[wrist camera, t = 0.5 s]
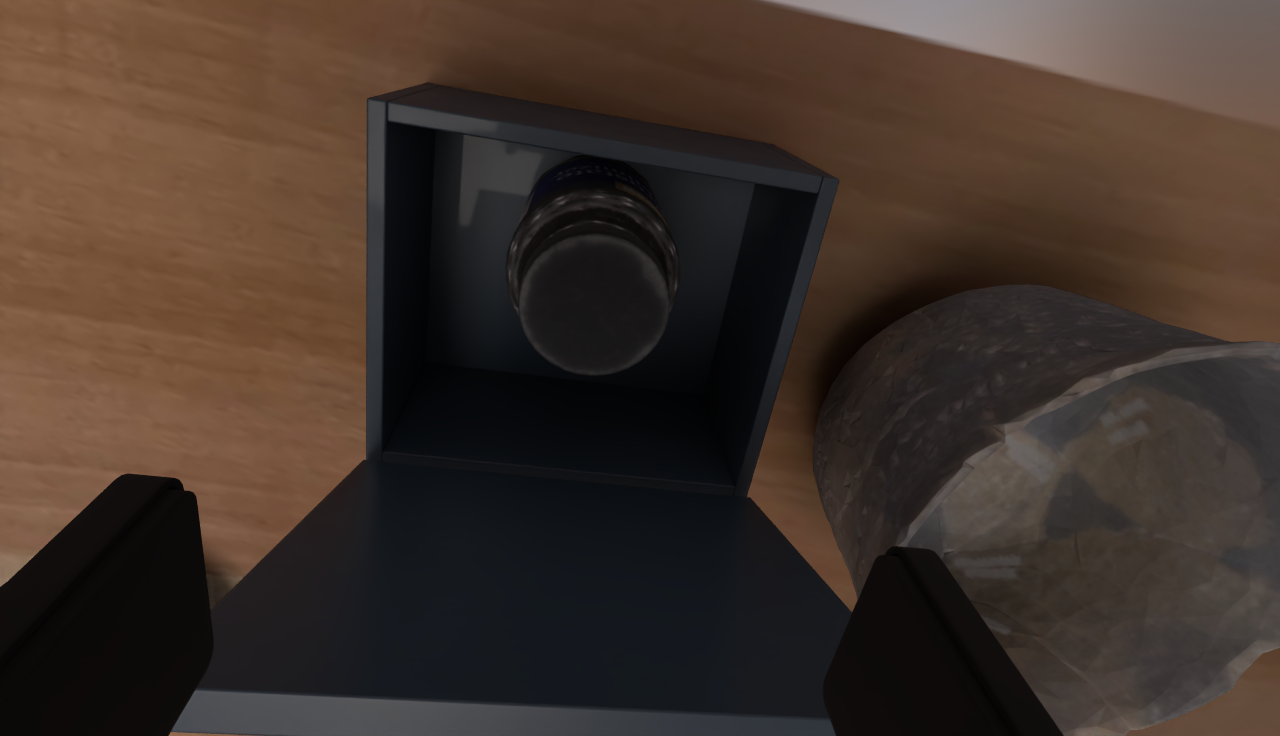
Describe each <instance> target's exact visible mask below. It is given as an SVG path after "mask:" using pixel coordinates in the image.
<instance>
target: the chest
mask: <svg viewBox="0 0 1280 736" xmlns="http://www.w3.org/2000/svg"><path fill="white" fill-rule="evenodd" d="M580 155H589V156H594V157H600V158H606V159H612V160H618V161H621V162H623V163H625V164H627V165H629V166H630V167H632V168H633V169H634V170H635V171H637V172H638V173H639V174H640V175H641V176H642V177H644V178H645V180H646V181H647V182H648V184H649V186H650V187H651V190H652V192H653V194H654V196H655V198H656V200H657V202H658V205H659V207H660V209H661V211H662V214H663V216H664V219H665V221H666V223H667V226H668V228H669V230H670V232H671V234H672V237H673V239H674V241H675V245H676V247H677V250H678V255H679V261H680V267H681V268H680V282H679V288H678V293H677V297H676V299H675V302H674V304H673V307H672V310H671V311H670V312H669V319H668V322H667V325H666V329H665V331H664V333H663V335H662V337H661V339H660V340H659V342H658V344H657V345H656V346H655V348H654V349H653V350H652V351H651V352H650V353H649V354H648V355H647V356H646V357H645V358H644V359H642V360H641V361H640V362H638V363H637V364H635V365H633V366H631V367H630V368H628V369H625V370H622V371H619V372H616V373H612V374H608V375H596V376H589V375H580V374H575V373H573V372H569V371H566V370H563V369H561V368H559V367H558V366H556V365H554V364H552V363H551V362H549V361H547V360H546V359H545V358H544V357H543V356H542V355H541V354H539V352H538V351H537V350H535V348H534V347H533V346H532V344H531V343H530V341H529V340H528V338H527V336H526V334H525V332H524V329H523V327H522V324H521V321H520V317H519V315H518V314H517V313H516V311H515V309H514V307H513V305H512V302H511V298H510V297H509V291H508V289H507V282H506V261H507V251H508V247H509V245H510V243H511V240H512V237H513V235H514V233H515V230H516V228H517V225H518V223H519V220H520V217H521V215H522V212H523V210H524V207H525V205H526V202H527V200H528V197H529V195H530V192H531V190H532V189H533V187H534V185H535V184H536V182H537V181H538V180H539V178H540V177H541V176H542V175H543V174H544V173H545V172H546V171H548V170H549V169H551V168H553V167H554V166H556V165H558V164H560V163H562V162H565V161H567V160H569V159H571V158H573V157H576V156H580ZM838 184H839V179H838V178H836V177H834V176H832V175H830V174H828V173H826V172H824V171H822V170H821V169H819V168H817V167H815V166H813V165H811V164H809V163H807V162H805V161H803V160H802V159H800V158H798V157H796V156H794V155H792V154H790V153H788V152H786V151H784V150H783V149H781V148H779V147H777V146H775V145H773V144H768V143H762V142H756V141H751V140H745V139H740V138H734V137H728V136H723V135H717V134H712V133H706V132H700V131H695V130H689V129H683V128H678V127H672V126H667V125H661V124H655V123H650V122H644V121H639V120H633V119H627V118H622V117H616V116H610V115H605V114H599V113H594V112H588V111H582V110H577V109H571V108H565V107H560V106H554V105H549V104H543V103H537V102H532V101H526V100H521V99H515V98H509V97H504V96H498V95H492V94H487V93H481V92H476V91H470V90H464V89H459V88H453V87H447V86H442V85H436V84H431V83H424V84H421V85H417V86H413V87H409V88H405V89H402V90H398V91H394V92H390V93H386V94H382V95H378V96H374V97H370V98H368V99H367V319H366V460H370V461H380V462H390V463H400V464H411V465H421V466H431V467H442V468H452V469H462V470H472V471H483V472H493V473H503V474H513V475H524V476H534V477H544V478H555V479H565V480H575V481H585V482H596V483H606V484H616V485H626V486H637V487H647V488H657V489H668V490H678V491H688V492H698V493H709V494H719V495H729V496H739V497H747V494H748V491H749V487H750V484H751V481H752V477H753V474H754V470H755V467H756V464H757V460H758V457H759V453H760V450H761V447H762V443H763V440H764V436H765V433H766V429H767V426H768V423H769V419H770V416H771V412H772V409H773V406H774V402H775V399H776V395H777V392H778V389H779V385H780V382H781V378H782V375H783V372H784V368H785V365H786V361H787V358H788V354H789V351H790V348H791V344H792V341H793V337H794V334H795V331H796V327H797V324H798V320H799V317H800V314H801V310H802V307H803V303H804V300H805V296H806V293H807V290H808V286H809V283H810V279H811V276H812V273H813V269H814V266H815V262H816V259H817V256H818V252H819V249H820V245H821V242H822V239H823V235H824V232H825V228H826V225H827V221H828V218H829V215H830V211H831V208H832V204H833V201H834V198H835V194H836V191H837V187H838Z"/></svg>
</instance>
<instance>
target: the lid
mask: <svg viewBox="0 0 1280 736" xmlns="http://www.w3.org/2000/svg"><path fill="white" fill-rule="evenodd" d="M210 612H211V620H212V629H213V637H214V648H213V654H212V658H211V661H210V664H209V667H208V669H207V671H206V673H205V674H204V676H203V678H202V680H201V681H200V683H199V685H198V686H197V688H196V690H195V691H194V693H193V695H192V696H191V698H190V700H189V702H188V703H187V705H186V707H185V708H184V710H183V712H182V713H181V715H180V717H179V719H178V720H177V722H176V724H175V725H174V727H173V729H172V730H171V732H186V733H211V734H237V735H262V736H836V734H835V732H834V729H833V726H832V723H831V721H830V718H829V715H828V713H827V710H826V707H825V704H824V699H823V682H824V679H825V676H826V674H827V671H828V669H829V667H830V664H831V662H832V659H833V657H834V655H835V652H836V650H837V648H838V645H839V643H840V641H841V638H842V636H843V634H844V631H845V629H846V627H847V624H848V622H849V619H850V617H851V615H852V612H851V611H850V610H849V609H848V607H847V606H846V605H845V604H844V603H843V602H842V601H841V600H840V598H839V597H838V596H837V595H836V594H835V593H834V592H833V591H832V589H831V588H830V587H829V586H828V585H827V584H826V583H825V582H824V580H823V579H822V578H821V577H820V576H819V575H818V574H817V572H816V571H815V570H814V569H813V568H812V567H811V566H810V565H809V563H808V562H807V561H806V560H805V559H804V558H803V557H802V556H801V554H800V553H799V552H798V551H797V550H796V549H795V548H794V546H793V545H792V544H791V543H790V542H789V541H788V540H787V539H786V537H785V536H784V535H783V534H782V533H781V532H780V531H779V530H778V528H777V527H776V526H775V525H774V524H773V523H772V522H771V520H770V519H769V518H768V517H767V516H766V515H765V514H764V513H763V511H762V510H761V509H760V508H759V507H758V506H757V505H756V504H755V502H754V501H753V500H752V499H751V498H750V497H739V496H729V495H719V494H709V493H698V492H688V491H678V490H668V489H657V488H647V487H637V486H626V485H616V484H606V483H596V482H585V481H575V480H565V479H555V478H544V477H534V476H524V475H513V474H503V473H493V472H483V471H472V470H462V469H452V468H442V467H431V466H421V465H411V464H400V463H390V462H380V461H370V460H363V461H362V462H361V463H360V464H359V465H358V466H357V467H356V468H355V469H354V470H353V471H352V472H351V473H350V474H349V475H348V476H347V477H346V478H345V479H343V480H342V481H341V482H340V483H339V484H338V485H337V486H336V487H335V488H334V489H333V490H332V491H331V492H330V493H329V494H328V495H327V496H326V497H325V498H324V499H323V500H322V501H321V502H320V503H319V504H318V505H317V506H316V507H315V508H314V509H313V510H312V511H311V512H310V513H309V514H308V515H307V516H306V517H305V518H304V519H303V520H302V521H301V522H300V523H299V524H298V525H297V526H296V527H295V528H294V529H293V530H292V531H291V532H290V533H289V534H287V535H286V536H285V537H284V538H283V539H282V540H281V541H280V542H279V543H278V544H277V545H276V546H275V547H274V548H273V549H272V550H271V551H270V552H269V553H268V554H267V555H266V556H265V557H264V558H263V559H262V560H261V561H260V562H259V563H258V564H257V565H256V566H255V567H254V568H253V569H252V570H251V571H250V572H249V573H248V574H247V575H246V576H245V577H244V578H243V579H242V580H241V581H240V582H239V583H238V584H237V585H236V586H235V587H234V588H233V589H231V590H230V591H229V592H228V593H227V594H226V595H225V596H224V597H223V598H222V599H221V600H220V601H219V602H218V603H217V604H216V605H215V606H214V607H213V608H212V609H211V610H210Z"/></svg>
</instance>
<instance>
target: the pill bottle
mask: <svg viewBox="0 0 1280 736" xmlns="http://www.w3.org/2000/svg"><path fill="white" fill-rule="evenodd" d="M680 268H681V267H680V261H679V255H678V250H677V247H676V245H675V241H674V239H673V237H672V234H671V232H670V230H669V228H668V226H667V223H666V221H665V219H664V216H663V214H662V211H661V209H660V207H659V205H658V202H657V200H656V198H655V196H654V194H653V192H652V190H651V187H650V186H649V184H648V182H647V181H646V180H645V178H644V177H642V176H641V175H640V174H639V173H638V172H637V171H635V170H634V169H633V168H632V167H630V166H629V165H627V164H625V163H623V162H621V161H618V160H612V159H606V158H600V157H594V156H589V155H580V156H576V157H573V158H571V159H569V160H567V161H565V162H562V163H560V164H558V165H556V166H554V167H553V168H551V169H549V170H548V171H546V172H545V173H544V174H543V175H542V176H541V177H540V178H539V180H538V181H537V182H536V184H535V185H534V187H533V189H532V190H531V192H530V195H529V197H528V200H527V202H526V205H525V207H524V210H523V212H522V215H521V217H520V220H519V223H518V225H517V228H516V230H515V233H514V235H513V237H512V240H511V243H510V245H509V247H508V251H507V261H506V282H507V289H508V291H509V297H510V298H511V302H512V305H513V307H514V309H515V311H516V313H517V314H518V315H519V317H520V321H521V324H522V327H523V329H524V332H525V334H526V336H527V338H528V340H529V341H530V343H531V344H532V346H533V347H534V348H535V350H537V351H538V352H539V354H541V355H542V356H543V357H544V358H545V359H546V360H547V361H549V362H551V363H552V364H554V365H556V366H558V367H559V368H561V369H563V370H566V371H569V372H573V373H575V374H580V375H589V376H596V375H608V374H612V373H616V372H619V371H622V370H625V369H628V368H630V367H631V366H633V365H635V364H637V363H638V362H640V361H641V360H642V359H644V358H645V357H646V356H647V355H648V354H649V353H650V352H651V351H652V350H653V349H654V348H655V346H656V345H657V344H658V342H659V340H660V339H661V337H662V335H663V333H664V331H665V329H666V325H667V322H668V319H669V312H670V311H671V310H672V307H673V304H674V302H675V299H676V297H677V293H678V288H679V282H680Z"/></svg>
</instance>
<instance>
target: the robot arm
mask: <svg viewBox="0 0 1280 736" xmlns="http://www.w3.org/2000/svg"><path fill="white" fill-rule="evenodd" d="M213 648H214V637H213V629H212V620H211V612H210V604H209V596H208V587H207V579H206V571H205V563H204V554H203V546H202V538H201V530H200V521H199V513H198V505H197V499H196V495H195V494H194V493H193V492H191V491H184V488H183V484H182V483H181V482H180V480H179V479H176V478H170V477H159V476H148V475H138V474H124V475H121V476H120V477H118V478H117V479H116V480H114V481H113V482H112V483H111V484H110V485H109V486H108V487H107V488H106V489H105V490H104V491H103V492H102V493H101V494H100V495H98V496H97V497H96V498H95V499H94V500H93V501H92V502H91V503H90V504H89V505H88V506H87V507H86V508H85V509H84V510H83V511H82V512H81V513H79V514H78V515H77V516H76V517H75V518H74V519H73V520H72V521H71V522H70V523H69V524H68V525H67V526H66V527H65V528H64V529H63V530H62V531H60V532H59V533H58V534H57V535H56V536H55V537H54V538H53V539H52V540H51V541H50V542H49V543H48V544H47V545H46V546H45V547H44V548H43V549H42V550H40V551H39V552H38V553H37V554H36V555H35V556H34V557H33V558H32V559H31V560H30V561H29V562H28V563H27V564H26V565H25V566H24V567H23V568H21V569H20V570H19V571H18V572H17V573H16V574H15V575H14V576H13V577H12V578H11V579H10V580H9V581H8V582H6V583H5V584H4V585H2V586H1V587H0V736H168V735H169V734H170V732H171V730H172V729H173V727H174V725H175V724H176V722H177V720H178V719H179V717H180V715H181V713H182V712H183V710H184V708H185V707H186V705H187V703H188V702H189V700H190V698H191V696H192V695H193V693H194V691H195V690H196V688H197V686H198V685H199V683H200V681H201V680H202V678H203V676H204V674H205V673H206V671H207V669H208V667H209V664H210V661H211V658H212V654H213ZM823 699H824V704H825V707H826V710H827V713H828V715H829V718H830V721H831V723H832V726H833V729H834V732H835V734H836V736H1064V735H1063V734H1062V732H1061V731H1060V729H1059V728H1058V726H1057V725H1056V723H1055V722H1054V721H1053V719H1052V718H1051V716H1050V715H1049V713H1048V712H1047V711H1046V709H1045V708H1044V706H1043V705H1042V703H1041V702H1040V700H1039V699H1038V698H1037V696H1036V695H1035V693H1034V692H1033V690H1032V689H1031V688H1030V686H1029V685H1028V683H1027V682H1026V680H1025V679H1024V677H1023V676H1022V675H1021V673H1020V672H1019V670H1018V669H1017V667H1016V666H1015V665H1014V663H1013V662H1012V660H1011V659H1010V657H1009V656H1008V655H1007V653H1006V652H1005V650H1004V649H1003V647H1002V646H1001V644H1000V643H999V642H998V640H997V639H996V637H995V636H994V634H993V633H992V632H991V630H990V629H989V627H988V626H987V624H986V623H985V621H984V620H983V619H982V617H981V616H980V614H979V613H978V611H977V610H976V609H975V607H974V606H973V604H972V603H971V601H970V600H969V598H968V597H967V596H966V594H965V593H964V591H963V590H962V588H961V587H960V586H959V584H958V583H957V581H956V580H955V578H954V577H953V575H952V574H951V573H950V571H949V570H948V568H947V567H946V565H945V564H944V563H943V561H942V560H941V558H940V557H939V556H938V555H937V554H936V552H935V551H932V550H930V549H923V548H912V547H902V546H893V547H891V548H889V549H888V550H887V551H886V553H885V555H879V556H878V557H877V558H876V559H875V561H874V563H873V565H872V568H871V570H870V572H869V575H868V577H867V579H866V582H865V584H864V586H863V589H862V591H861V594H860V596H859V598H858V601H857V603H856V605H855V608H854V610H853V612H852V615H851V617H850V619H849V622H848V624H847V627H846V629H845V631H844V634H843V636H842V638H841V641H840V643H839V645H838V648H837V650H836V652H835V655H834V657H833V659H832V662H831V664H830V667H829V669H828V671H827V674H826V676H825V679H824V682H823Z"/></svg>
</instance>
